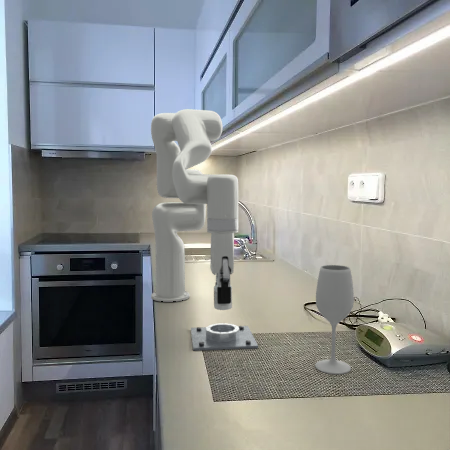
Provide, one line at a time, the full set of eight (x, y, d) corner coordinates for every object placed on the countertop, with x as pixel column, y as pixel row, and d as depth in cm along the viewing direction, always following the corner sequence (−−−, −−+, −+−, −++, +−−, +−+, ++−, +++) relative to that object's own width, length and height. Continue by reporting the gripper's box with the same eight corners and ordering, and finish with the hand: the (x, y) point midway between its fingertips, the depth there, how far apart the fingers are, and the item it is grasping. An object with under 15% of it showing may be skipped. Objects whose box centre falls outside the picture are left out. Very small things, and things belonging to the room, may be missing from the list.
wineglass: (345, 360, 100) (348, 264, 98) (356, 374, 93) (359, 271, 91) (310, 360, 100) (312, 264, 98) (319, 374, 92) (321, 271, 91)
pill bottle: (221, 304, 116) (221, 274, 115) (235, 307, 113) (235, 276, 113) (210, 308, 113) (210, 276, 112) (224, 311, 110) (224, 279, 109)
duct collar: (205, 331, 117) (205, 323, 117) (236, 330, 118) (236, 322, 118) (207, 342, 109) (207, 334, 109) (241, 341, 110) (241, 332, 110)
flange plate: (190, 329, 121) (190, 325, 120) (247, 328, 122) (247, 324, 122) (193, 350, 106) (193, 346, 106) (258, 348, 107) (258, 343, 107)
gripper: (204, 223, 119) (205, 293, 121) (209, 229, 103) (210, 310, 104) (233, 223, 120) (233, 292, 122) (243, 229, 103) (243, 309, 105)
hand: (223, 300), depth 113 cm, fingers closed on pill bottle, 4 cm apart
